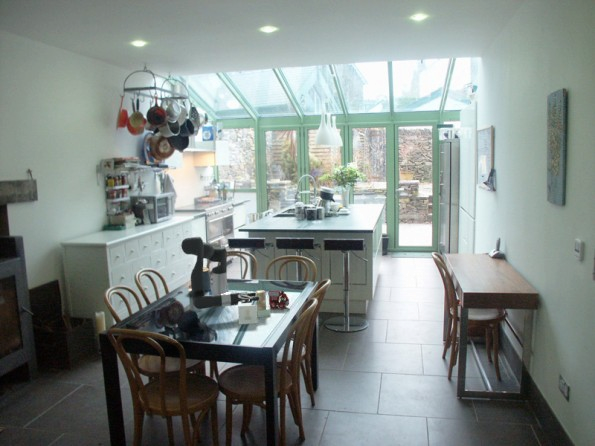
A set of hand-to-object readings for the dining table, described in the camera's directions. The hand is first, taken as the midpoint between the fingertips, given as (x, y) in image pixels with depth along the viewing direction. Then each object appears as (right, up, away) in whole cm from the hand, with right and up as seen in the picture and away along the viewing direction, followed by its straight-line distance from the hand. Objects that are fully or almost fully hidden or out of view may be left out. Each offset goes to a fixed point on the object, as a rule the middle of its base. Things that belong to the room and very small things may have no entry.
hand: (257, 296), depth 283 cm
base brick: (+2, -11, +2) cm, 11 cm away
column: (+2, -7, +1) cm, 8 cm away
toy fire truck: (+12, -9, +15) cm, 21 cm away
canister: (-43, -4, +58) cm, 72 cm away
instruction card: (-4, -13, -13) cm, 19 cm away
